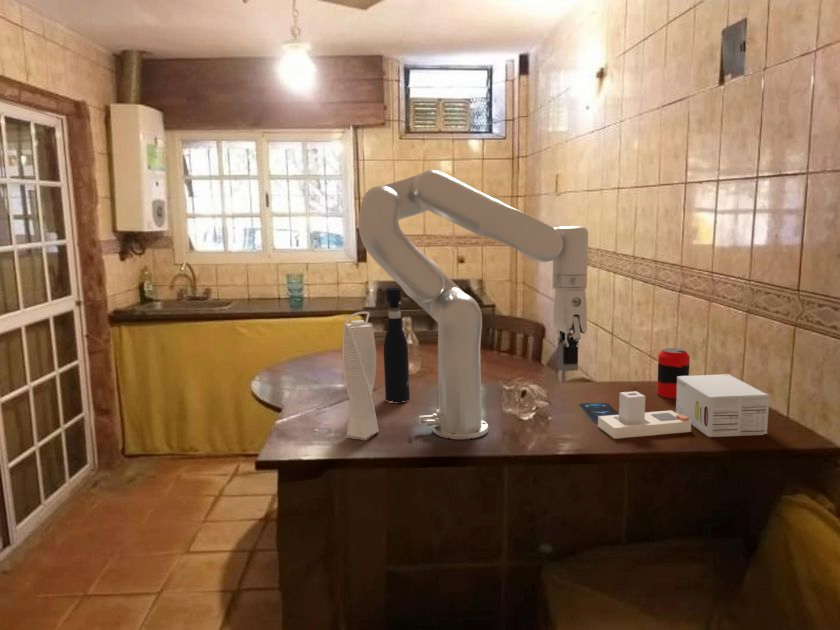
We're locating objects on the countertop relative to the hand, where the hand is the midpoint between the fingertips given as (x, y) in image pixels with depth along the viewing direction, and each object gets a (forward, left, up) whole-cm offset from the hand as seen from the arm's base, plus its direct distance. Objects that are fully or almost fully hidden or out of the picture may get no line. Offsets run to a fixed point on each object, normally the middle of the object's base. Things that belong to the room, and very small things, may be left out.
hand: (567, 360), depth 146 cm
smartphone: (+11, +5, -16) cm, 20 cm away
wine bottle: (-36, +28, -15) cm, 48 cm away
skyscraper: (-47, +3, -15) cm, 50 cm away
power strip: (+15, -8, -15) cm, 23 cm away
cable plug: (0, 0, -2) cm, 2 cm away
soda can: (+35, +14, -15) cm, 41 cm away
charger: (+12, -8, -15) cm, 20 cm away
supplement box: (+33, -8, -15) cm, 37 cm away
